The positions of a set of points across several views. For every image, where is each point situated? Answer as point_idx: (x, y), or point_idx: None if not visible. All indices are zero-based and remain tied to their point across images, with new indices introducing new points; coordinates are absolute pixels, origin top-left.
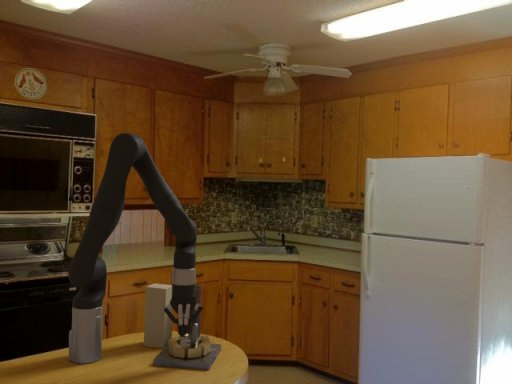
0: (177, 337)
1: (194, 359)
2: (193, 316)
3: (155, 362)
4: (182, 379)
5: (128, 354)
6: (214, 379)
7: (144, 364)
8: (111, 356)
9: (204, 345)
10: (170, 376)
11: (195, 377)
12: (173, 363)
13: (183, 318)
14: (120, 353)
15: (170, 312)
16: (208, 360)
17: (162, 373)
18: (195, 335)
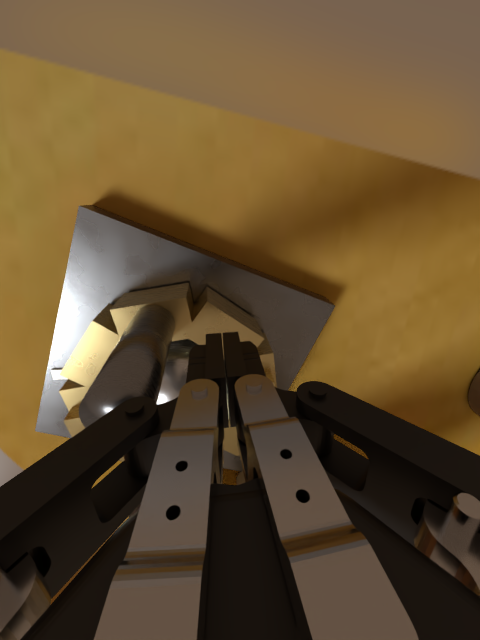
0: (229, 446)
1: (158, 275)
2: (97, 453)
3: (323, 298)
4: (225, 110)
5: (385, 401)
6: (56, 64)
7: (354, 312)
8: (437, 390)
9: (92, 338)
10: (276, 163)
11: (160, 121)
12: (254, 272)
13: (222, 461)
14: (406, 410)
15: (431, 488)
16: (85, 250)
17: (304, 207)
18: (128, 338)
